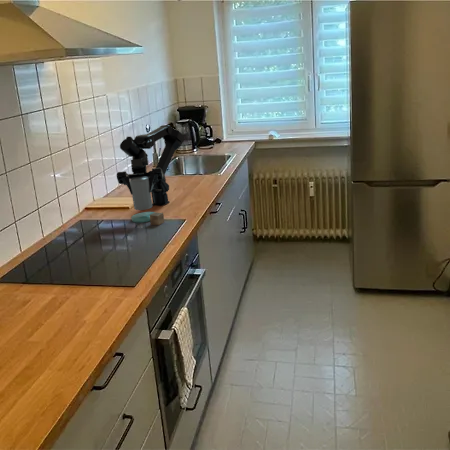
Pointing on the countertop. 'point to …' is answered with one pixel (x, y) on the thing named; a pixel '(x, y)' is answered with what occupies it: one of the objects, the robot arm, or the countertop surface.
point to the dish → (142, 217)
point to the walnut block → (156, 218)
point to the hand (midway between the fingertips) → (140, 193)
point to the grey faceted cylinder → (141, 193)
